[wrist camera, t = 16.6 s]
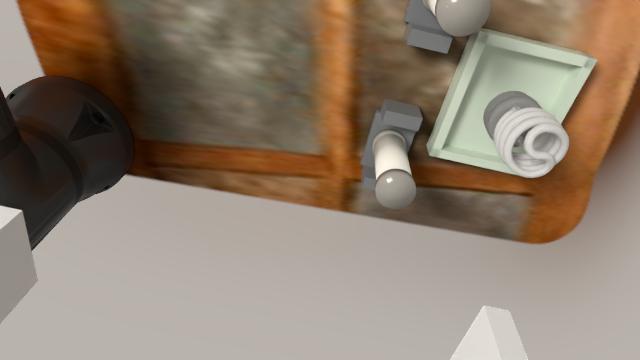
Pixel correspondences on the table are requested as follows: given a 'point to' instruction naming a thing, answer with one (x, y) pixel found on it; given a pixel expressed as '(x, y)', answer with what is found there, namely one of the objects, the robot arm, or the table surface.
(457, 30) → the grey capped cylinder
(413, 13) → the clip block
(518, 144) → the light bulb
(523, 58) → the tray
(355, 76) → the table surface
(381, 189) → the fuse
